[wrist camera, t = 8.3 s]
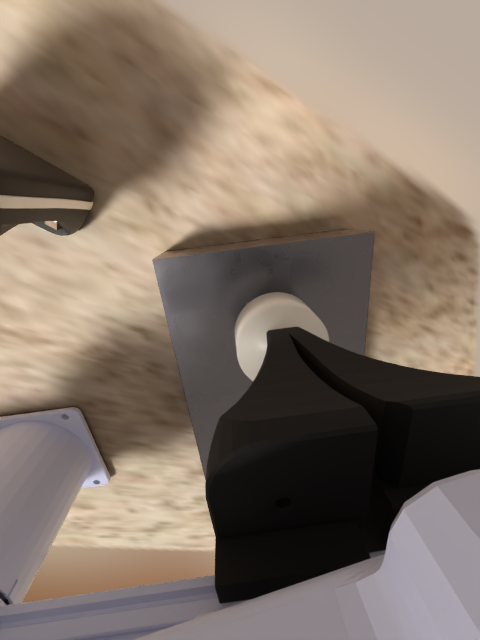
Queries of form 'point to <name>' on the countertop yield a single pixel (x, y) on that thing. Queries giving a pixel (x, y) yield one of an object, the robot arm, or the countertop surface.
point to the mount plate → (245, 285)
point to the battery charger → (39, 193)
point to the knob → (270, 326)
